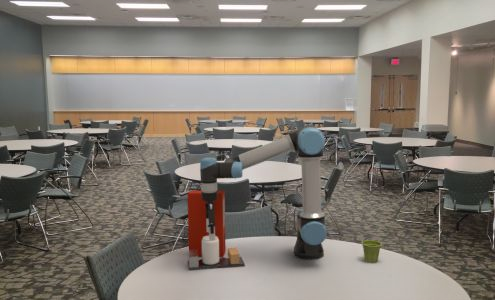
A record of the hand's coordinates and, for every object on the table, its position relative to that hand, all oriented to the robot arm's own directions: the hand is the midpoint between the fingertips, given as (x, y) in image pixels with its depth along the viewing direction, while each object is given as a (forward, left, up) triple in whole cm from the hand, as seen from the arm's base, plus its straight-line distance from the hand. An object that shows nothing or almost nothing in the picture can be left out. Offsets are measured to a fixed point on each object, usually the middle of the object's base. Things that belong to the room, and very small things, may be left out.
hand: (210, 235), depth 219 cm
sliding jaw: (-11, 0, -13) cm, 16 cm away
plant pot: (-76, +9, -14) cm, 78 cm away
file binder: (+1, -15, -14) cm, 21 cm away
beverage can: (0, 0, -13) cm, 13 cm away
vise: (-2, 0, -14) cm, 14 cm away
